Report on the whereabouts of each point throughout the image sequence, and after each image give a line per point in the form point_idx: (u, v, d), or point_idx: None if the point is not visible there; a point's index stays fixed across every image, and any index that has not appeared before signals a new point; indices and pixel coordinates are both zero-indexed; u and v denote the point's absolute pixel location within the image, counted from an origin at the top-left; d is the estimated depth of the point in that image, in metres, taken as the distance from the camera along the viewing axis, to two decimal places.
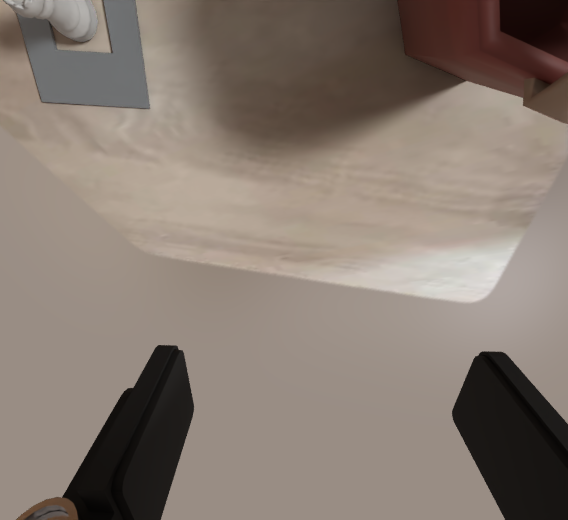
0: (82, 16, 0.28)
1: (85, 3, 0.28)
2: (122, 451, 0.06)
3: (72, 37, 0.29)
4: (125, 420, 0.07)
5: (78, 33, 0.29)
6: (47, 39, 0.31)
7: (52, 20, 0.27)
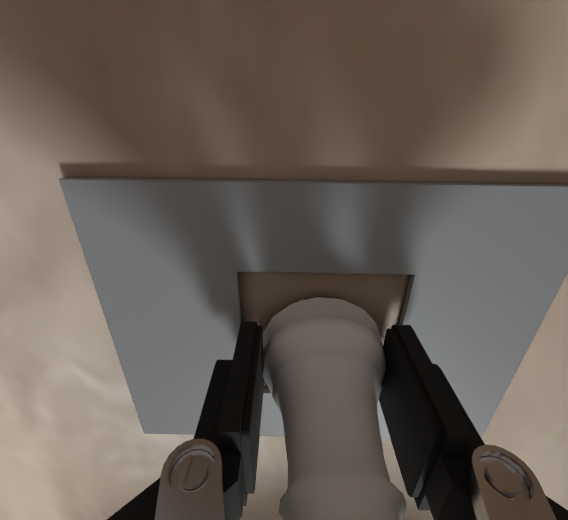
0: None
1: None
2: (243, 402, 0.07)
3: (263, 369, 0.10)
4: (236, 380, 0.08)
5: (272, 391, 0.10)
6: (262, 257, 0.10)
7: (287, 449, 0.08)
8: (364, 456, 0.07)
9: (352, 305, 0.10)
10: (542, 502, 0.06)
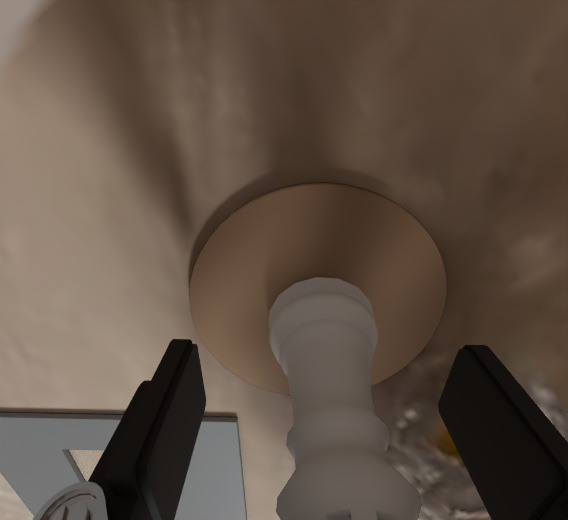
0: None
1: None
2: (145, 438, 0.06)
3: (271, 339, 0.12)
4: (146, 409, 0.07)
5: (278, 360, 0.12)
6: (73, 444, 0.18)
7: (292, 400, 0.09)
8: (356, 398, 0.08)
9: (348, 284, 0.12)
10: None
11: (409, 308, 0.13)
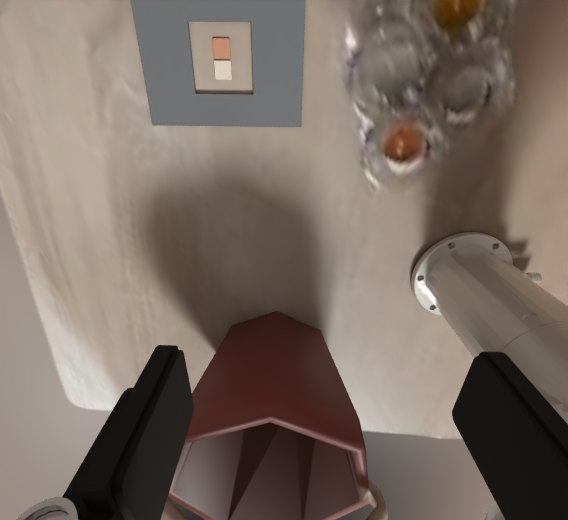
0: None
1: None
2: (123, 450, 0.06)
3: None
4: (125, 420, 0.07)
5: None
6: (195, 12, 0.27)
7: None
8: None
9: None
10: None
11: None
